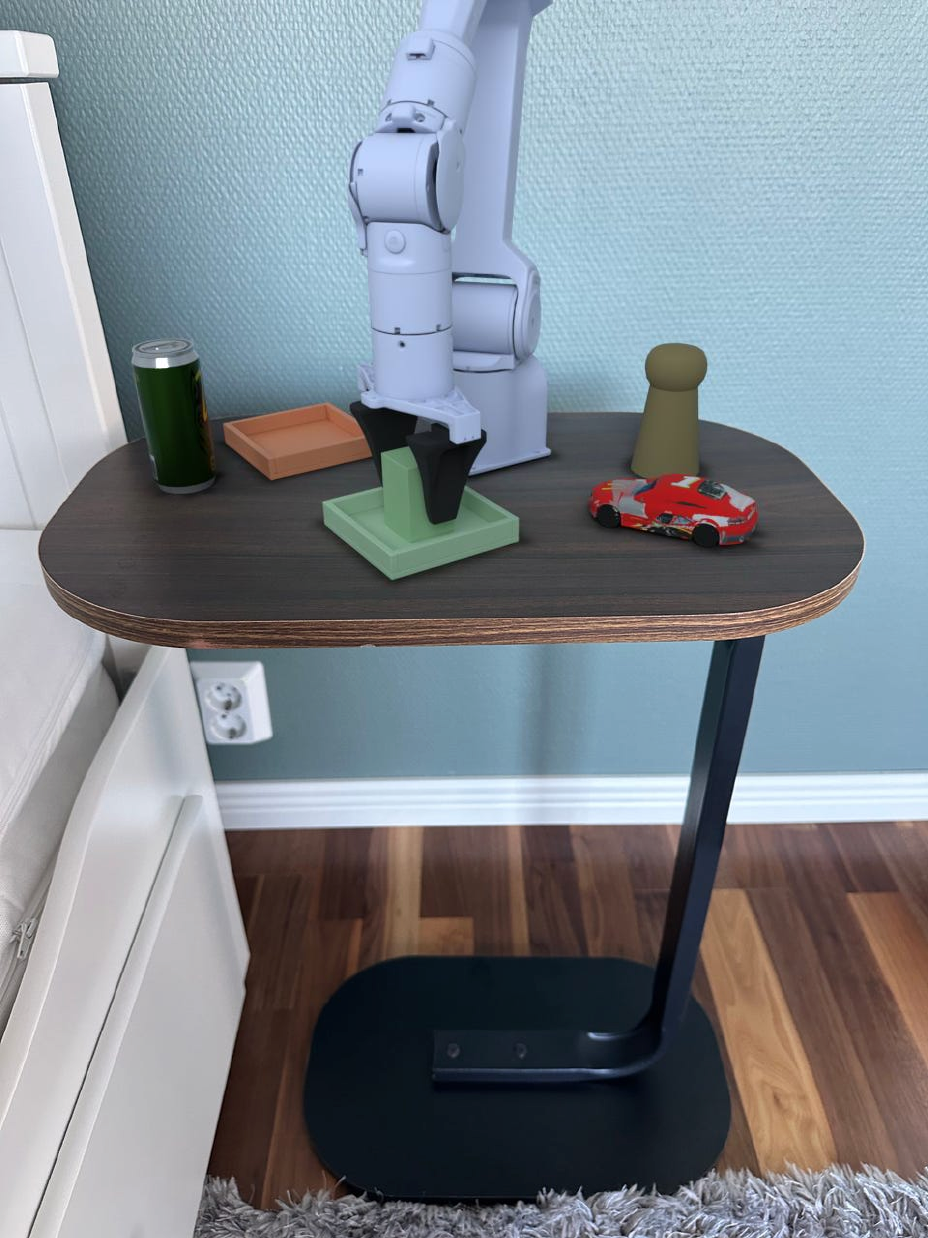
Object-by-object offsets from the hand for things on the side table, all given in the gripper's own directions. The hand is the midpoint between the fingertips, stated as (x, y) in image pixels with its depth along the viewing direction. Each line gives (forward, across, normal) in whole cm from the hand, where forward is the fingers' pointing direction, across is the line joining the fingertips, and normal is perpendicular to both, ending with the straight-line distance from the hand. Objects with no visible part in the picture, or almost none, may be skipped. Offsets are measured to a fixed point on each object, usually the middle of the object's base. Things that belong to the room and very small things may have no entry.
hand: (418, 503), depth 73 cm
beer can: (+3, -20, -12) cm, 23 cm away
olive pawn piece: (+3, +1, +25) cm, 25 cm away
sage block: (+2, 0, 0) cm, 2 cm away
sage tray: (+2, 0, 0) cm, 2 cm away
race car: (+3, +10, +17) cm, 20 cm away
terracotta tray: (+2, -22, 0) cm, 22 cm away
